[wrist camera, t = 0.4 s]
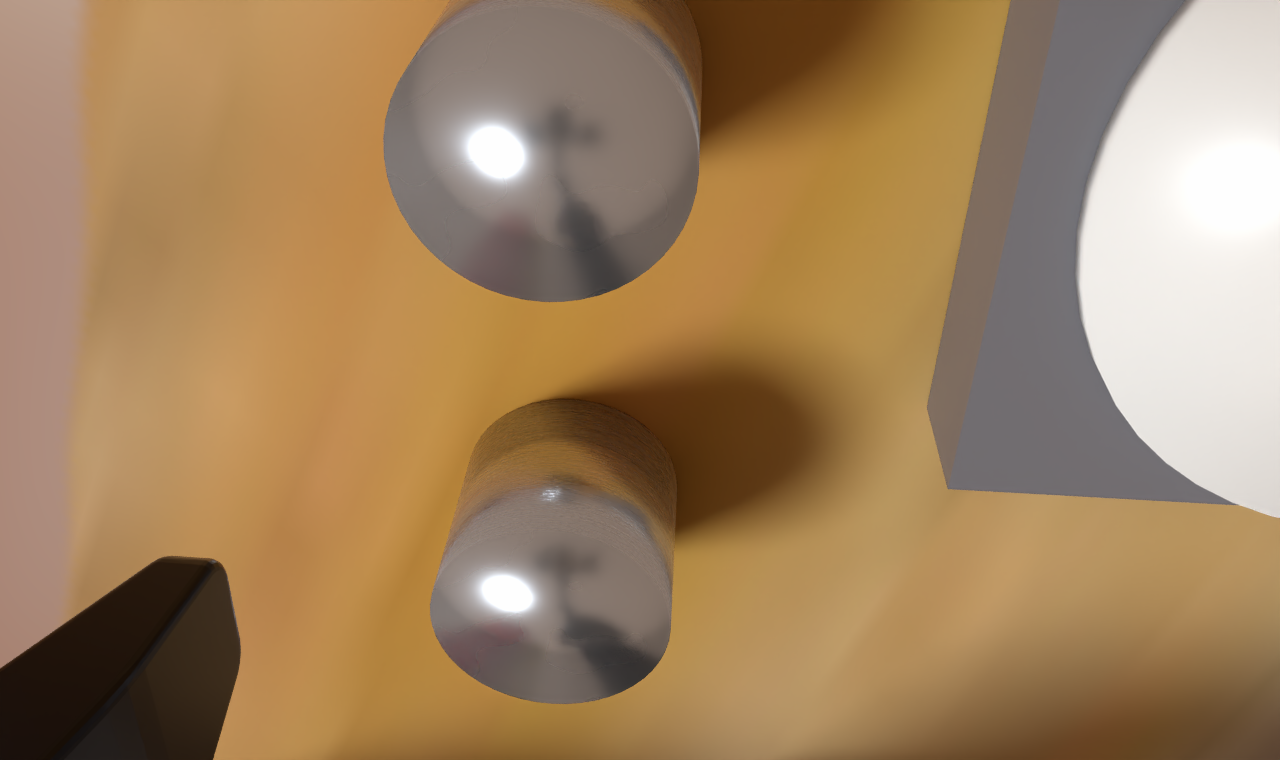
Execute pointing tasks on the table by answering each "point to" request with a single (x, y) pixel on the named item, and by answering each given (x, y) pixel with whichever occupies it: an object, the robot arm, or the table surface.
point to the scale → (1121, 260)
